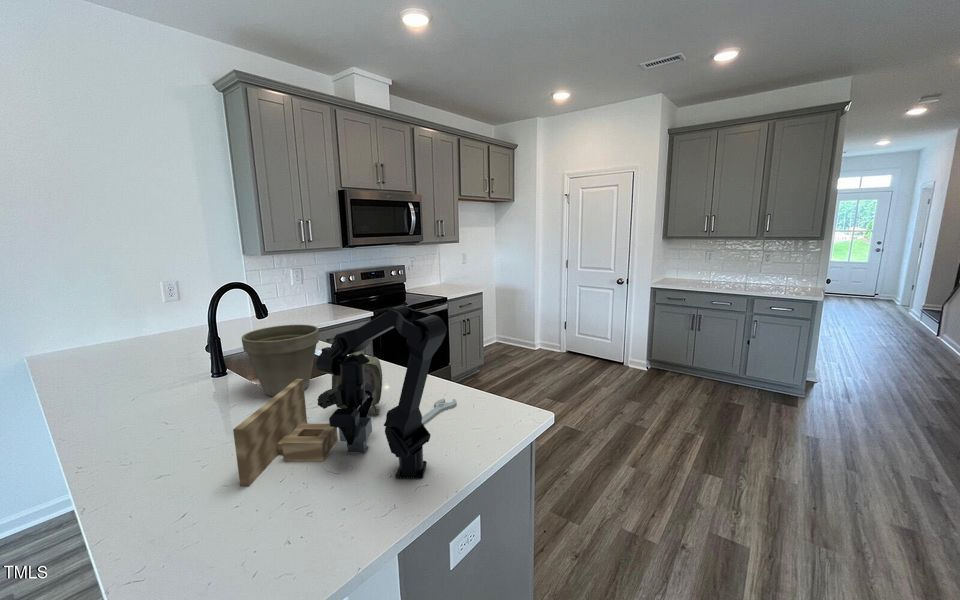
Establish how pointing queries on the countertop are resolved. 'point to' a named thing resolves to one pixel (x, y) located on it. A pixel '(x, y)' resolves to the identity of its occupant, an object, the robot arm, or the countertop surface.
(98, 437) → the countertop surface
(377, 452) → the countertop surface
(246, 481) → the wooden desk organizer
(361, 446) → the grey rectangular block
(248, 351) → the plant pot
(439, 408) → the adjustable wrench
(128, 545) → the countertop surface
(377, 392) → the tabletop clock
